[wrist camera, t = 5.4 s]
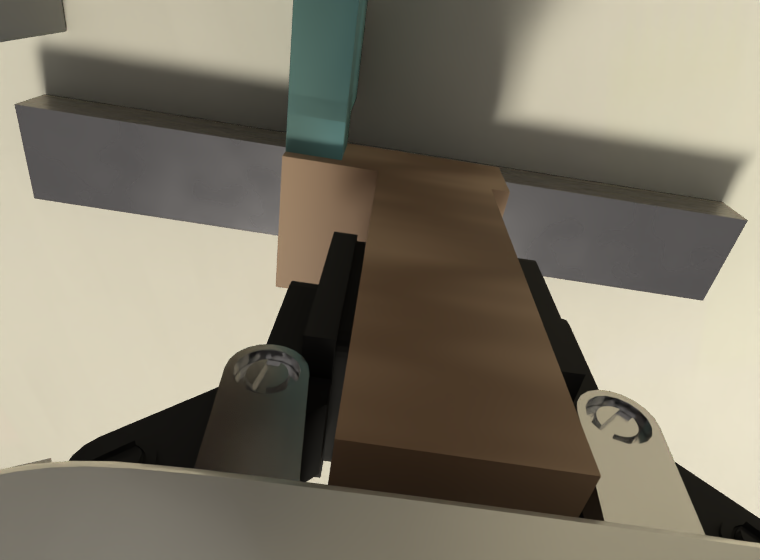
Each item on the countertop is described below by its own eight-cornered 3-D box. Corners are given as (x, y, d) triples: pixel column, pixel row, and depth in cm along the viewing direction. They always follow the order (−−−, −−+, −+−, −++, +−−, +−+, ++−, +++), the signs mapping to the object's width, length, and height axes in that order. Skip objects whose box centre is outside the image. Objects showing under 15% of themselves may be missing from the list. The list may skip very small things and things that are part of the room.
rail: (722, 202, 17) (747, 220, 16) (682, 278, 19) (702, 300, 18) (45, 94, 17) (14, 104, 15) (61, 182, 18) (34, 198, 17)
